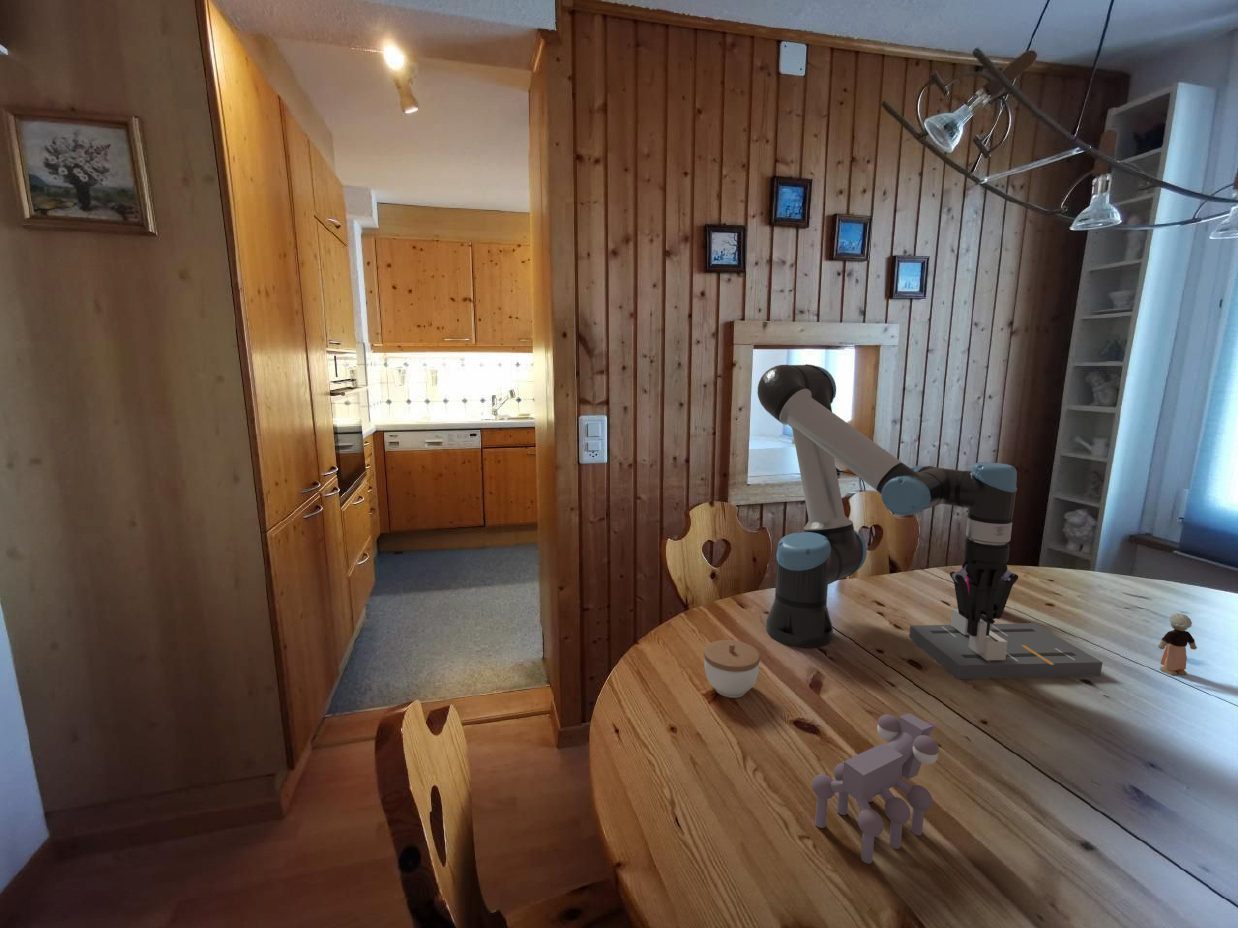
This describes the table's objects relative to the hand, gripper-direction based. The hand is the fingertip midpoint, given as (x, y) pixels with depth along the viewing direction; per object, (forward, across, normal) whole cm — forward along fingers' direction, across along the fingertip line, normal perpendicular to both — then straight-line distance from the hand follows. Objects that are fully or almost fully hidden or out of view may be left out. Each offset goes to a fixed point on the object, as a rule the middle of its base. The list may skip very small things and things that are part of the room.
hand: (976, 649), depth 116 cm
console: (+5, +9, +6) cm, 12 cm away
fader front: (+1, +3, 0) cm, 3 cm away
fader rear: (+1, +5, +11) cm, 13 cm away
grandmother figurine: (+5, +41, -2) cm, 41 cm away
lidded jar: (+5, -52, -5) cm, 53 cm away
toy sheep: (+5, -38, -38) cm, 54 cm away
